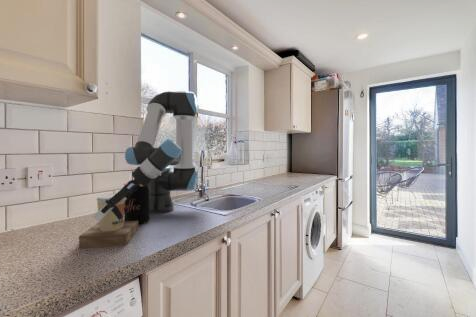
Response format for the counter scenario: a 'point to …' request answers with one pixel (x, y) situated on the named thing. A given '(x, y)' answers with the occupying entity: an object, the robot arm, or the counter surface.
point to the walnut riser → (108, 236)
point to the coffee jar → (138, 205)
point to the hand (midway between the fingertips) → (104, 212)
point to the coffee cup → (111, 214)
